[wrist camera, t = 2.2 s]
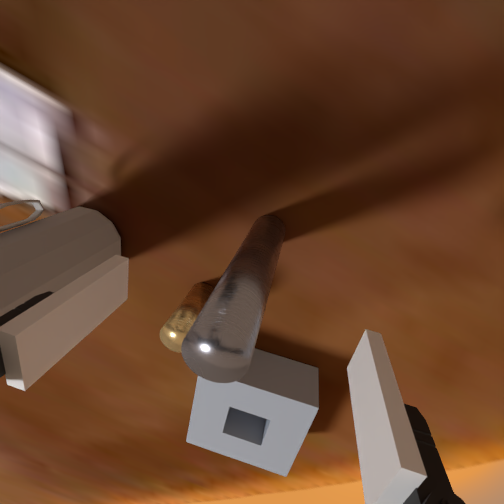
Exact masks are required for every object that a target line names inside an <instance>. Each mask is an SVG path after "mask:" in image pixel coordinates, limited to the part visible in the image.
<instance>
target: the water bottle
mask: <svg viewBox="0 0 504 504" xmlns="http://www.w3.org/2000/svg"><path fill="white" fill-rule="evenodd" d="M20 203H33V205H34V207H35V209H36V211H35V212H34V213H33V214H32V215H31V216H30V217H28V218H27V219H25V220H22V221H18V222H15V223H12V224H8V225H5V226H2V227H0V231H4V230H7V229H10V228H14V227H17V226H20V225H23V224H26V223H28V222H30V221H34V220H35V219H36V218H37V217H39V216H40V215H41V213H42V211H43V210H44V209H43V207H42V205H41V203H40V200H22V201H15V202H9V203H3V204H0V209H1V208H4V207H6V206H9V205H14V204H20ZM114 255H119V256H121V237H120V235H119V234H118V232H117V230H116V228H115V226H114V224H113V223H112V222H111V221H110V220H109V219H107V218H106V217H105V216H104V215H102V214H101V213H100V212H98V211H96V210H93V209H88V208H84V207H80V206H79V207H76V208H73V209H70V210H67V211H64V212H61V213H58V214H56V215H53V216H50V217H47V218H44V219H41V220H38V221H35V222H32V223H29V224H27V225H24V226H21V227H18V228H15V229H12V230H9V231H6V232H3V233H0V316H2V315H4V314H5V313H7V312H9V311H10V310H12V309H15V308H16V307H17V306H19V305H21V304H24V302H26V301H27V300H29V299H31V298H32V297H34V296H36V295H39V294H42V293H45V292H48V291H51V292H54V293H55V292H57V291H58V290H60V289H61V288H63V287H65V286H66V285H68V284H69V283H71V282H73V281H74V280H76V279H78V278H79V277H81V276H82V275H84V274H86V273H87V272H89V271H90V270H92V269H94V268H95V267H97V266H98V265H100V264H102V263H103V262H105V261H106V260H108V259H110V258H111V257H113V256H114Z"/></svg>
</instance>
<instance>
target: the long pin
mask: <svg viewBox="0 0 504 504" xmlns="http://www.w3.org/2000/svg"><path fill="white" fill-rule="evenodd" d="M284 236H285V226H284V224H283V222H282V221H281V220H280V219H279V218H277V217H275V216H273V215H264V216H262V217H260V218H258V219H257V220H256V222H255V223H254V225H253V226H252V228H251V230H250V231H249V233H248V235H247V236H246V238H245V240H244V241H243V243H242V244H241V246H240V248H239V249H238V251H237V253H236V254H235V256H234V258H233V259H232V261H231V262H230V264H229V266H228V267H227V269H226V271H225V272H224V274H223V276H222V277H221V279H220V280H219V282H218V284H217V285H216V287H215V289H214V290H213V292H212V294H211V295H210V297H209V298H208V300H207V302H206V303H205V305H204V307H203V308H202V310H201V312H200V313H199V315H198V316H197V318H196V320H195V321H194V323H193V325H192V326H191V328H190V330H189V331H188V333H187V334H186V336H185V338H184V339H183V342H182V346H181V351H182V356H183V359H184V361H185V362H186V364H187V365H188V367H189V368H190V369H191V370H192V371H193V372H194V373H196V374H197V375H198V376H200V377H202V378H204V379H206V380H209V381H212V382H216V383H231V382H235V381H237V380H239V379H241V378H242V377H243V376H244V375H245V374H246V373H247V371H248V369H249V366H250V363H251V359H252V355H253V352H254V348H255V344H256V340H257V337H258V333H259V329H260V325H261V322H262V318H263V314H264V311H265V307H266V303H267V299H268V296H269V292H270V288H271V285H272V281H273V277H274V273H275V270H276V266H277V262H278V258H279V255H280V251H281V247H282V244H283V240H284Z"/></svg>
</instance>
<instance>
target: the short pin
mask: <svg viewBox="0 0 504 504" xmlns="http://www.w3.org/2000/svg"><path fill="white" fill-rule="evenodd" d="M213 290H214V288H213V287H212V286H211V285H209V284H207V283H198V284H196V285H194V286H193V287H192V289H191V290H190V291H189V293H188V294H187V295H186V297H185V298H184V299H183V301H182V302H181V303H180V305H179V306H178V307H177V309H176V310H175V311H174V313H173V314H172V315H171V317H170V318H169V319H168V321H167V322H166V323H165V325H164V326H163V327H162V329H161V331H160V339H161V341H162V343H163V344H164V345H165V346H166V347H167V348H169V349H170V350H172V351H175V352H182V351H181V346H182V342H183V339H184V338H185V336H186V334H187V333H188V331H189V330H190V328H191V326H192V325H193V323H194V321H195V320H196V318H197V316H198V315H199V313H200V312H201V310H202V308H203V307H204V305H205V303H206V302H207V300H208V298H209V297H210V295H211V294H212V292H213Z"/></svg>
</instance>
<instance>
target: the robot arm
mask: <svg viewBox="0 0 504 504" xmlns="http://www.w3.org/2000/svg"><path fill="white" fill-rule="evenodd" d="M128 263H129V258H126V257H122V256H119V255H114V256H113V257H111V258H110V259H108V260H106V261H105V262H103V263H102V264H100V265H98V266H97V267H95V268H94V269H92V270H90V271H89V272H87V273H86V274H84V275H82V276H81V277H79V278H78V279H76V280H74V281H73V282H71V283H69V284H68V285H66V286H65V287H63V288H61V289H60V290H58V291H57V292H55V293H54V292H51V291H48V292H45V293H42V294H39V295H36V296H34V297H32V298H31V299H29V300H27V301H26V302H24V304H21V305H19V306H17V307H16V308H15V309H12V310H10V311H9V312H7V313H5V314H4V315H2V316H0V377H2V376H3V375H4V374H5V376H6V380H7V385H10V386H13V387H15V388H18V389H21V390H24V391H25V390H27V389H28V388H29V387H30V386H31V385H32V384H33V383H34V382H36V381H37V380H38V379H39V378H40V377H41V376H42V375H43V374H44V373H46V372H47V371H48V370H49V369H50V368H51V367H52V366H53V365H54V364H56V363H57V362H58V361H59V360H60V359H61V358H62V357H63V356H64V355H66V354H67V353H68V352H69V351H70V350H71V349H72V348H73V347H75V346H76V345H77V344H78V343H79V342H80V341H81V340H82V339H83V338H85V337H86V336H87V335H88V334H89V333H90V332H91V331H92V330H93V329H95V328H96V327H97V326H98V325H99V324H100V323H101V322H102V321H103V320H105V319H106V318H107V317H108V316H109V315H110V314H111V313H112V312H114V311H115V310H116V309H117V308H118V307H119V306H120V305H121V304H122V303H124V302H125V301H126V300H127V292H128ZM347 372H348V380H349V387H350V394H351V402H352V409H353V417H354V424H355V432H356V439H357V446H358V454H359V461H360V469H361V476H362V484H363V490H364V498H365V504H465V503H464V501H463V500H462V499H461V498H459V497H458V496H457V495H456V494H454V492H453V490H452V487H451V485H450V482H449V479H448V477H447V474H446V472H445V469H444V466H443V464H442V461H441V458H440V456H439V453H438V451H437V448H435V443H434V440H433V438H432V437H431V432H430V430H429V427H428V424H427V422H426V420H425V419H424V417H423V416H422V415H421V413H420V412H419V410H418V409H417V408H416V407H413V406H410V405H407V404H404V403H403V400H402V397H401V394H400V391H399V388H398V385H397V382H396V379H395V376H394V372H393V369H392V366H391V363H390V360H389V357H388V354H387V351H386V348H385V345H384V342H383V339H382V335H381V334H380V333H377V332H374V331H370V330H367V329H366V330H365V332H364V334H363V336H362V338H361V340H360V342H359V344H358V346H357V348H356V350H355V352H354V355H353V357H352V359H351V361H350V363H349V365H348V367H347Z"/></svg>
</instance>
